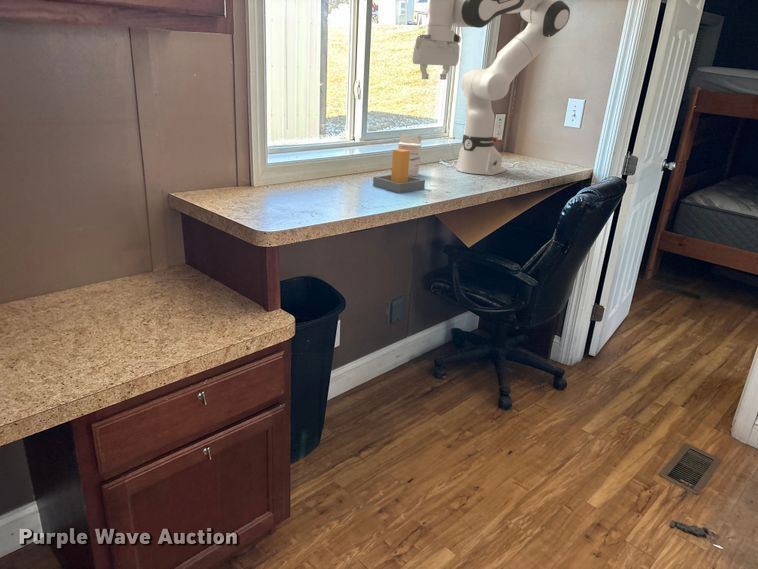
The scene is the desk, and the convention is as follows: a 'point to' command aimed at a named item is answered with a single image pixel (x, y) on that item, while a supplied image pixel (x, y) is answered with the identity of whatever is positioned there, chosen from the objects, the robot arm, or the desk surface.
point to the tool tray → (398, 184)
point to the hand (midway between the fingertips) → (434, 79)
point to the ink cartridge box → (411, 151)
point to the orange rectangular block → (400, 165)
